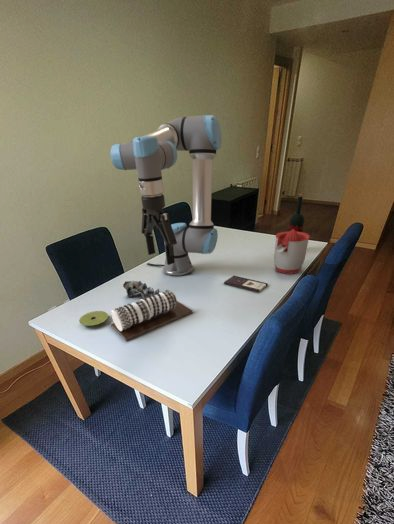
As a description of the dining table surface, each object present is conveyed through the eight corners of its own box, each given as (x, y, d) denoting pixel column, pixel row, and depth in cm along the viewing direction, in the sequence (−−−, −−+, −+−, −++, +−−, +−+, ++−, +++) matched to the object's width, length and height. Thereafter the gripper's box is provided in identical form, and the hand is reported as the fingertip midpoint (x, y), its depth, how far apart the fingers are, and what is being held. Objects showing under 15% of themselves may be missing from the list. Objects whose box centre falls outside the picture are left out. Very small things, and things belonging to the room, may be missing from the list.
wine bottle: (282, 253, 168) (290, 195, 150) (287, 248, 175) (295, 192, 157) (296, 255, 165) (305, 196, 147) (300, 249, 172) (310, 192, 154)
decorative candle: (121, 320, 101) (181, 297, 112) (109, 303, 105) (168, 282, 116) (123, 337, 109) (178, 313, 120) (111, 320, 112) (166, 299, 123)
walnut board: (126, 341, 106) (125, 338, 105) (111, 326, 114) (110, 324, 113) (192, 312, 120) (192, 310, 119) (174, 301, 128) (174, 299, 127)
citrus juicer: (263, 271, 150) (267, 230, 138) (284, 261, 158) (289, 222, 146) (289, 279, 140) (295, 237, 128) (309, 269, 149) (317, 228, 137)
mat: (113, 323, 116) (111, 319, 115) (84, 332, 112) (83, 328, 110) (103, 312, 124) (102, 308, 123) (77, 320, 119) (75, 316, 118)
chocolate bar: (233, 275, 145) (267, 283, 136) (233, 277, 145) (267, 285, 136) (224, 282, 139) (258, 290, 130) (224, 283, 140) (258, 292, 131)
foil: (137, 302, 122) (122, 274, 126) (137, 315, 132) (122, 289, 135) (162, 293, 126) (147, 267, 130) (160, 306, 136) (145, 281, 140)
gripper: (125, 192, 101) (136, 252, 114) (162, 202, 85) (170, 271, 98) (144, 188, 105) (152, 247, 118) (183, 197, 88) (188, 265, 102)
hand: (161, 258), depth 108 cm, fingers open, 13 cm apart
